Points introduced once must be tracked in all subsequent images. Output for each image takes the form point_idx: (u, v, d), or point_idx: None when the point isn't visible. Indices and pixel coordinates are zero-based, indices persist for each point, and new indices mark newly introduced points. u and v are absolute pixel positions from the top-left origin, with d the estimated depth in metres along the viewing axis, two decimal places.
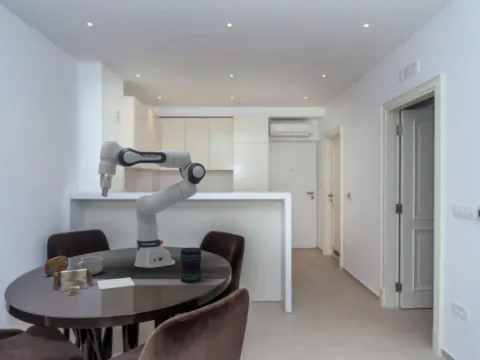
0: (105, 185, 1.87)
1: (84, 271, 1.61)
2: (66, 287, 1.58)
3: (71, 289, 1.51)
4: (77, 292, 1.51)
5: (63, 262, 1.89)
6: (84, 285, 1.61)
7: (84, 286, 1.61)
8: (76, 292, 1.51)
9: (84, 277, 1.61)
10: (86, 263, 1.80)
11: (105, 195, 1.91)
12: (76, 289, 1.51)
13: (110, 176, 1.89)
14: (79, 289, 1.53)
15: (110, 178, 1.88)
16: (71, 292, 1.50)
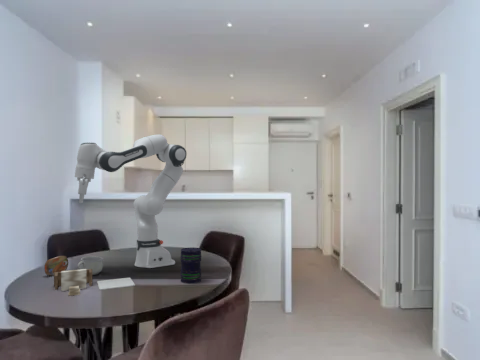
0: (80, 191, 1.72)
1: (84, 271, 1.61)
2: (66, 287, 1.58)
3: (70, 289, 1.51)
4: (77, 292, 1.51)
5: (63, 262, 1.89)
6: (84, 285, 1.61)
7: (84, 286, 1.61)
8: (76, 292, 1.51)
9: (84, 277, 1.61)
10: (86, 263, 1.80)
11: (81, 201, 1.77)
12: (75, 289, 1.51)
13: (86, 181, 1.74)
14: (79, 289, 1.53)
15: (86, 183, 1.73)
16: (71, 292, 1.50)
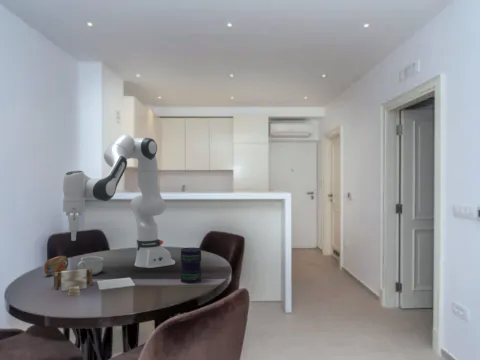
0: (71, 227, 1.51)
1: (84, 271, 1.61)
2: (66, 287, 1.58)
3: (71, 289, 1.50)
4: (77, 292, 1.51)
5: (63, 262, 1.89)
6: (84, 285, 1.61)
7: (84, 286, 1.61)
8: (76, 292, 1.51)
9: (84, 277, 1.61)
10: (86, 263, 1.80)
11: (73, 238, 1.55)
12: (76, 289, 1.51)
13: (77, 215, 1.52)
14: (79, 289, 1.53)
15: (77, 218, 1.52)
16: (71, 292, 1.50)
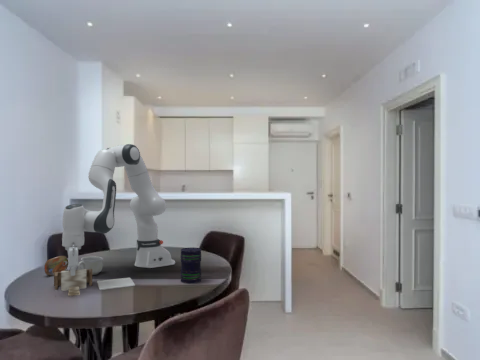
0: (70, 263, 1.50)
1: (84, 271, 1.61)
2: (66, 287, 1.58)
3: (71, 289, 1.50)
4: (77, 293, 1.51)
5: (63, 262, 1.89)
6: (84, 285, 1.61)
7: (84, 286, 1.61)
8: (76, 293, 1.51)
9: (84, 277, 1.61)
10: (86, 263, 1.80)
11: (73, 273, 1.55)
12: (76, 289, 1.51)
13: (76, 251, 1.52)
14: None
15: (76, 253, 1.52)
16: (71, 293, 1.50)
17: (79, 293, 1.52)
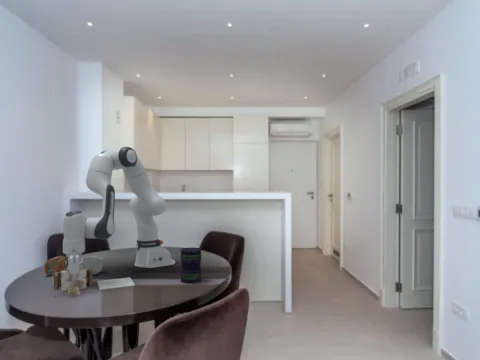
0: (71, 271, 1.50)
1: (84, 271, 1.61)
2: (66, 287, 1.58)
3: (70, 290, 1.50)
4: (76, 293, 1.51)
5: (63, 262, 1.89)
6: (84, 285, 1.61)
7: (84, 286, 1.61)
8: (75, 293, 1.51)
9: (84, 277, 1.61)
10: (86, 263, 1.80)
11: (74, 279, 1.57)
12: (75, 290, 1.51)
13: (77, 258, 1.52)
14: None
15: (77, 261, 1.52)
16: (70, 293, 1.50)
17: (79, 293, 1.52)
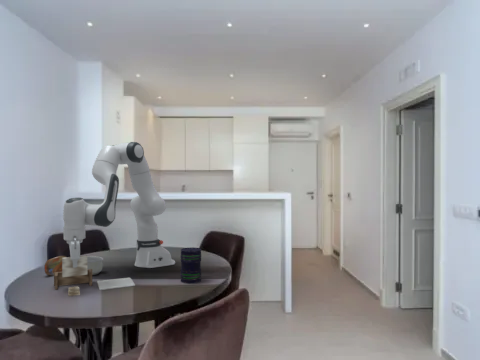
0: (72, 257, 1.51)
1: (85, 257, 1.61)
2: (68, 273, 1.58)
3: (71, 290, 1.50)
4: (77, 292, 1.51)
5: None
6: (85, 271, 1.61)
7: (85, 272, 1.61)
8: (76, 292, 1.51)
9: (85, 263, 1.61)
10: None
11: (75, 265, 1.58)
12: (76, 289, 1.51)
13: (78, 244, 1.52)
14: None
15: (78, 247, 1.52)
16: (71, 292, 1.50)
17: (79, 293, 1.52)
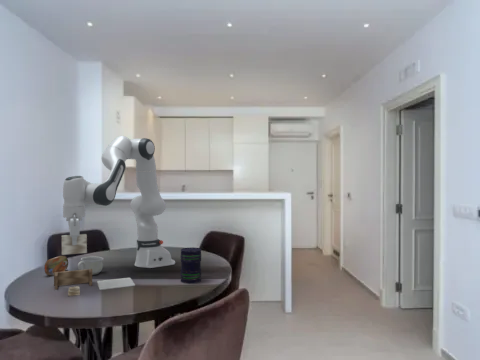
0: (72, 233, 1.51)
1: (84, 236, 1.61)
2: (67, 251, 1.58)
3: (71, 289, 1.50)
4: (77, 292, 1.51)
5: (63, 262, 1.89)
6: (84, 250, 1.61)
7: (84, 251, 1.61)
8: (76, 292, 1.51)
9: (84, 242, 1.61)
10: (86, 263, 1.80)
11: (74, 243, 1.58)
12: (76, 289, 1.51)
13: (77, 221, 1.52)
14: None
15: (77, 224, 1.52)
16: (71, 292, 1.50)
17: None
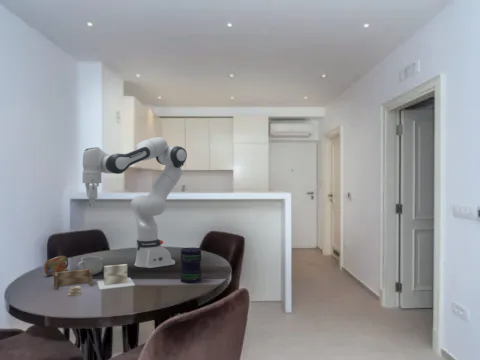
0: (91, 195, 1.73)
1: (125, 266, 1.68)
2: (109, 281, 1.65)
3: (73, 289, 1.50)
4: (78, 292, 1.52)
5: (63, 262, 1.89)
6: (125, 279, 1.68)
7: (125, 280, 1.68)
8: (78, 292, 1.51)
9: (125, 272, 1.68)
10: (86, 263, 1.80)
11: (92, 206, 1.77)
12: (78, 289, 1.52)
13: (95, 185, 1.74)
14: None
15: (95, 187, 1.74)
16: (73, 292, 1.50)
17: (79, 293, 1.52)
